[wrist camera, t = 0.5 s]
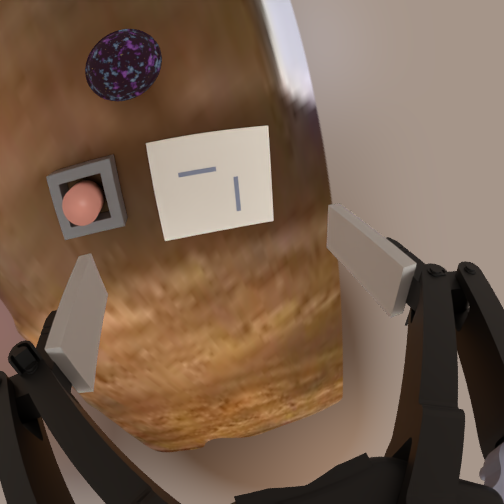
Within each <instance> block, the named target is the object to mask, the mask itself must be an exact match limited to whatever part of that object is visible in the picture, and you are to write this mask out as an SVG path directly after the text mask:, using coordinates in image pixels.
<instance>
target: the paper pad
mask: <svg viewBox="0 0 504 504" xmlns="http://www.w3.org/2000/svg"><path fill="white" fill-rule="evenodd" d="M146 147H147V153H148V159H149V165H150V171H151V176H152V182H153V187H154V192H155V197H156V202H157V207H158V212H159V216H160V221H161V226H162V230H163V235H164V239H165V241H169V240H174V239H179V238H184V237H189V236H194V235H199V234H204V233H210V232H215V231H220V230H225V229H231V228H236V227H242V226H247V225H253V224H258V223H264V222H270V221H274V220H273V200H272V181H271V164H270V147H269V131H268V126H256V127H246V128H237V129H228V130H220V131H213V132H206V133H199V134H193V135H187V136H181V137H175V138H169V139H164V140H159V141H154V142H149V143H146Z"/></svg>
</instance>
